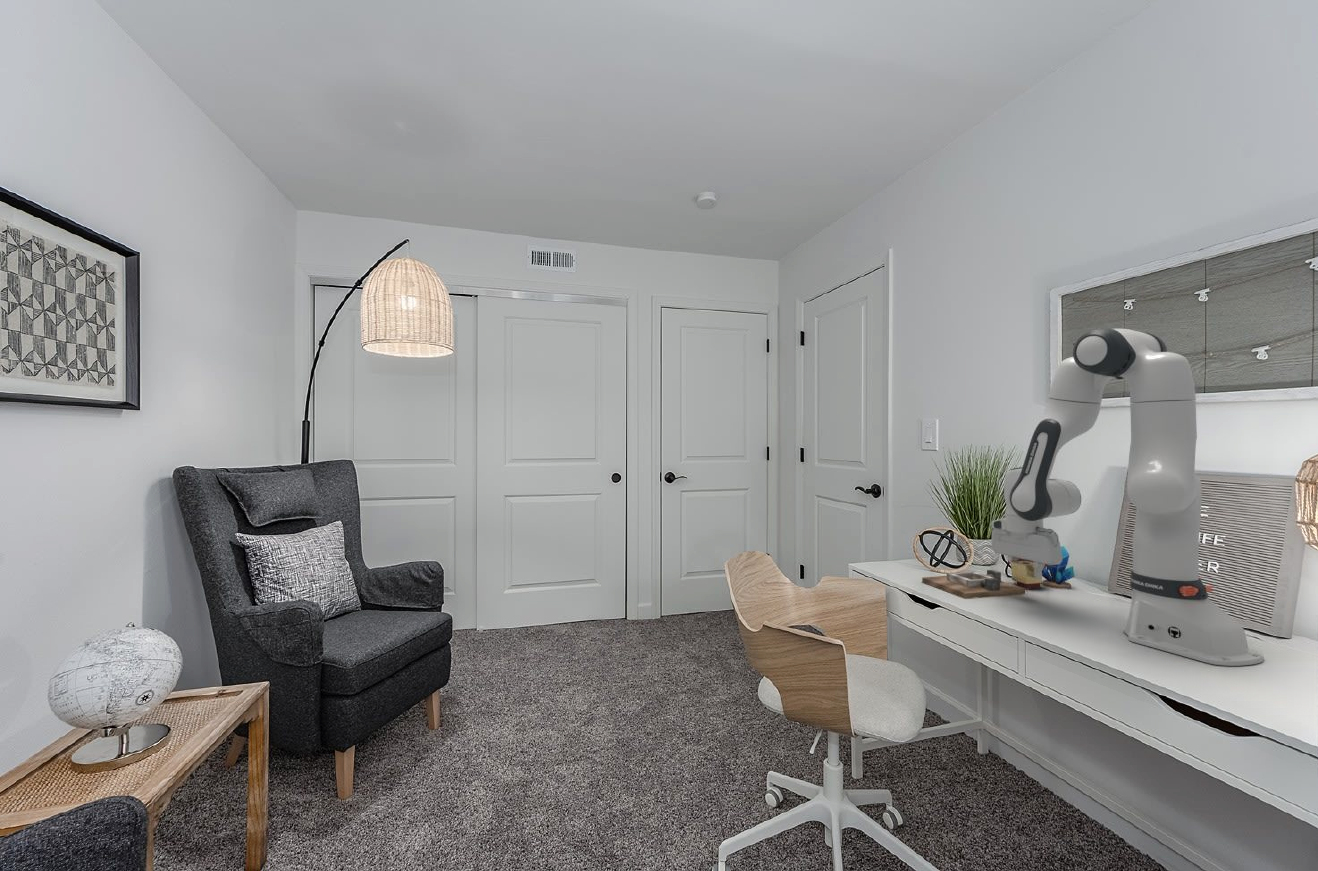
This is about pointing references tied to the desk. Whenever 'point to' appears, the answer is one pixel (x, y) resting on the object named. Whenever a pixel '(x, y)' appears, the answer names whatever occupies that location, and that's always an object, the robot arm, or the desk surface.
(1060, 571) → the gemstone
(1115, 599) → the desk surface
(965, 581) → the stand
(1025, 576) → the tan cube
